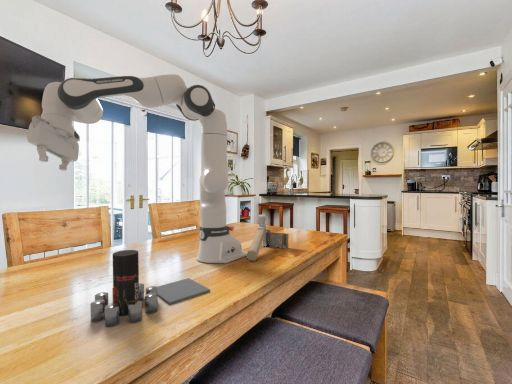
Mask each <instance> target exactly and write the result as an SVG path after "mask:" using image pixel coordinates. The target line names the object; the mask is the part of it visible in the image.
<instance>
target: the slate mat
mask: <svg viewBox="0 0 512 384" xmlns="http://www.w3.org/2000/svg"><path fill="white" fill-rule="evenodd" d="M156 287H157V298H158V297H159V298H160V299H161V300H162V301H164V302H165V303H166V304H168V305H174V304H176V303H179V302H182V301H185V300H189V299H191V298H194V297H197V296H199V295H200V296H201V295H203V294H206V293H209V292H211V289H210V288H208V287H206V286H204V285H203V284H201V283H198V282H197V281H195V280H193V279H191V278H190V277H189V278H185V279H184V278H183V279H181V280H176V281H174V282H170V283H166V284H161V285H158V286H156Z"/></svg>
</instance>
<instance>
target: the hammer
mask: <svg viewBox="0 0 512 384" xmlns="http://www.w3.org/2000/svg"><path fill="white" fill-rule="evenodd" d="M266 221H267V217H266V214H258V215H257V222H258V226H257V231H256V233H255V235H254V238H253V240H252V242H251V244H250V246H249V248H248V251H247V252H246V253H247V256H246V257H247V259H248V261H251V262H255V261H257V259H258V255H259V253H260V250H261V248H262V247H263V246H265V247H264V248H267V247H268V246H267V242H266V232H267V231H266V229H267V225H266ZM266 246H267V247H266Z"/></svg>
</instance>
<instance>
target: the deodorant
mask: <svg viewBox="0 0 512 384" xmlns="http://www.w3.org/2000/svg"><path fill="white" fill-rule="evenodd" d="M139 263H140V262H139V250H135V249H127V250H119V251H115V252H113V253H112V288H113V294H112V304H118V305H119V317H125V316H128V304H129V303H130V302H133V301H139V283H140V281H139V280H140V277H139V276H140V273H139V271H140V270H139V267H140V266H139Z"/></svg>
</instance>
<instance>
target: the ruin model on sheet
mask: <svg viewBox="0 0 512 384" xmlns="http://www.w3.org/2000/svg"><path fill="white" fill-rule="evenodd" d="M266 242H267V245H270V246H269V248H272V247H279V248H278V249H281V248H288V249H289V233H285V232H284V233H283V232H274V231H273V232H272V231H271V229H270V228H269V229H267V228H266Z"/></svg>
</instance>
